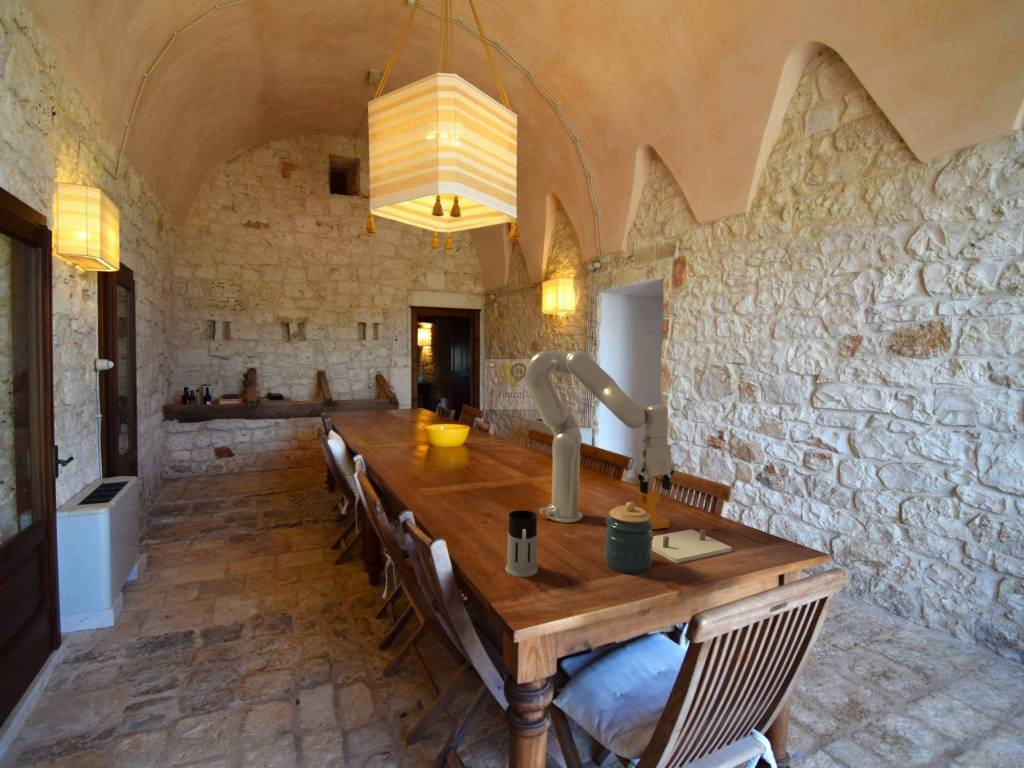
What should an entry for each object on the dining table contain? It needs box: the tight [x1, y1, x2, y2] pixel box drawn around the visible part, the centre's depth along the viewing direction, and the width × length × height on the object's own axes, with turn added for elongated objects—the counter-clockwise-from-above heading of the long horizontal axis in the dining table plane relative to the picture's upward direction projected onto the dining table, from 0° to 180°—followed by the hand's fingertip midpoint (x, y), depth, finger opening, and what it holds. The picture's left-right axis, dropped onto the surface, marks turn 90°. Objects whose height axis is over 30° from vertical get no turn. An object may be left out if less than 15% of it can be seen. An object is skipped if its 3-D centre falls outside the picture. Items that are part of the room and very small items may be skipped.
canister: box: [603, 501, 654, 574], centre depth 136 cm, size 13×13×18 cm
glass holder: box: [504, 509, 538, 578], centre depth 129 cm, size 9×14×15 cm, turn 2°
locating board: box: [652, 528, 733, 564], centre depth 149 cm, size 22×16×4 cm
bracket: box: [635, 489, 671, 530], centre depth 168 cm, size 11×7×12 cm, turn 22°
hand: (654, 490), depth 167 cm, fingers open, 9 cm apart
